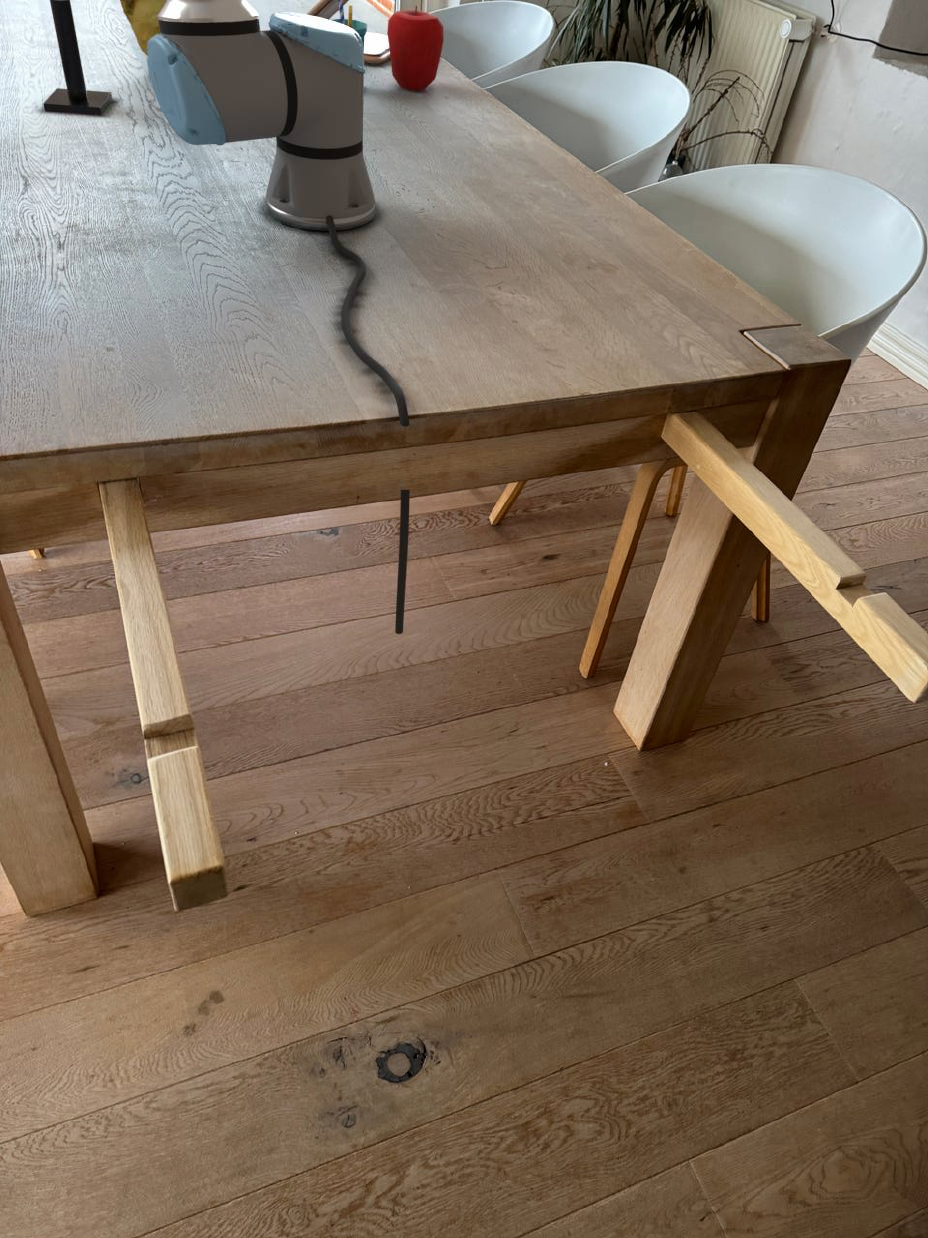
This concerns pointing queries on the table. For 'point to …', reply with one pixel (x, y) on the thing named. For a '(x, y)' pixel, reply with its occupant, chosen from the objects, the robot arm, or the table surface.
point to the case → (374, 43)
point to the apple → (414, 48)
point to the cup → (352, 22)
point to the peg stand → (72, 70)
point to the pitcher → (143, 19)
